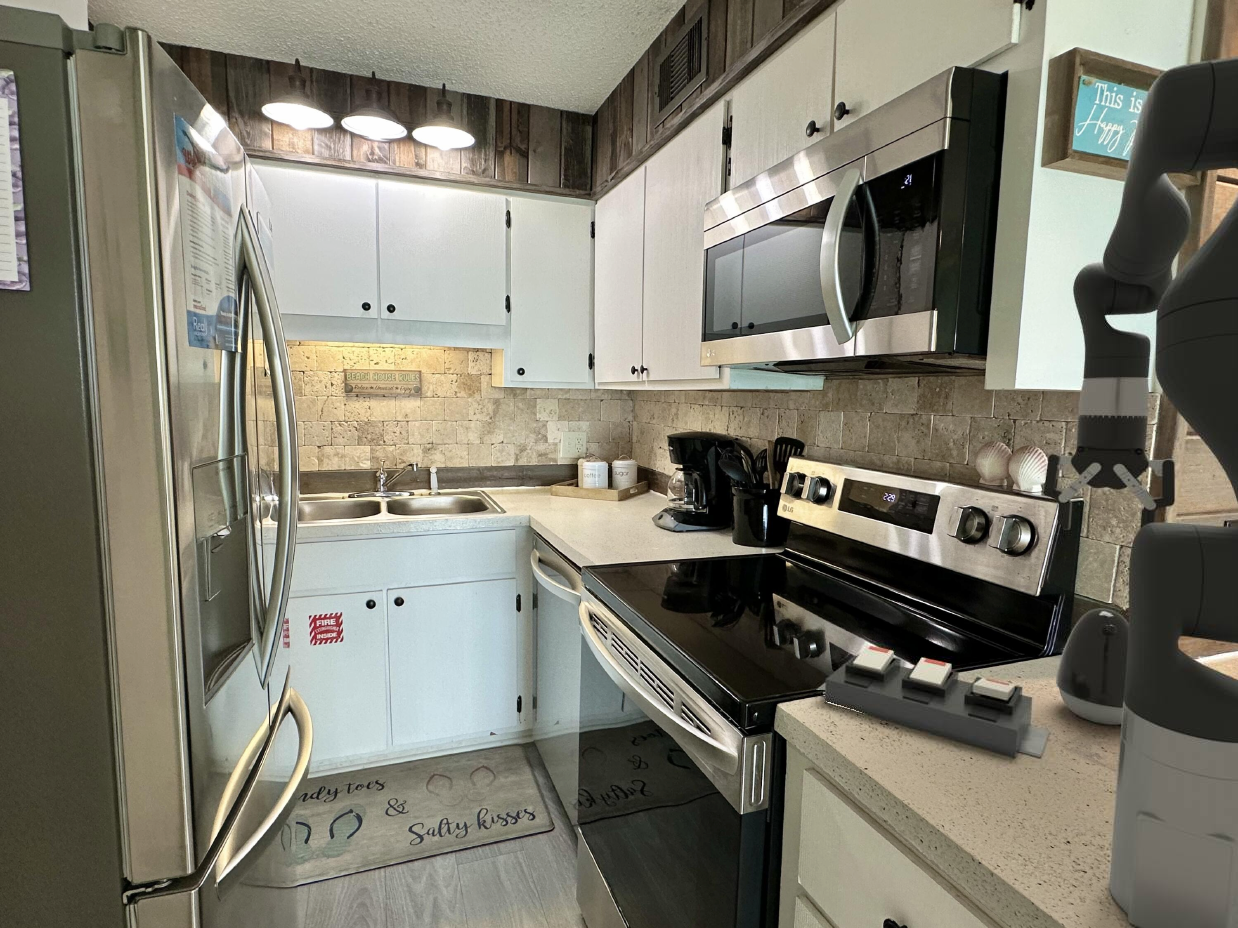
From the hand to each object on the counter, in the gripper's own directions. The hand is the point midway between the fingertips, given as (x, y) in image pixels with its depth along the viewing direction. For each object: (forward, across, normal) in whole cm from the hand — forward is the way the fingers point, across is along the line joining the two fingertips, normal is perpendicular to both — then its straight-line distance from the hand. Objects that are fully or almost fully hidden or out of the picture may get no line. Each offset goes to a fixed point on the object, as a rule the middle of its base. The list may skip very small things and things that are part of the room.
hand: (1104, 532), depth 92 cm
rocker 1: (+21, -26, -12) cm, 35 cm away
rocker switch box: (+26, -18, -14) cm, 34 cm away
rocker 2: (+21, -10, -12) cm, 26 cm away
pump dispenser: (+26, +1, 0) cm, 26 cm away
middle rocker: (+21, -18, -12) cm, 30 cm away
